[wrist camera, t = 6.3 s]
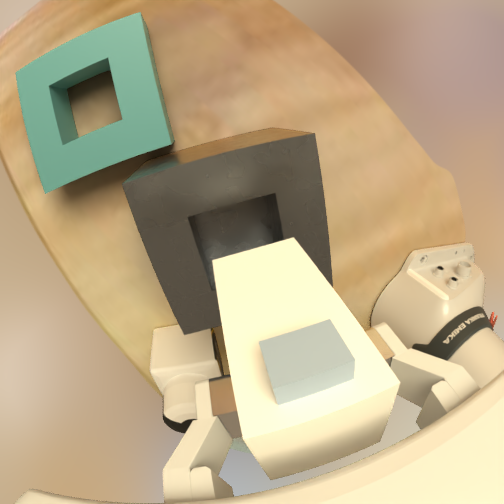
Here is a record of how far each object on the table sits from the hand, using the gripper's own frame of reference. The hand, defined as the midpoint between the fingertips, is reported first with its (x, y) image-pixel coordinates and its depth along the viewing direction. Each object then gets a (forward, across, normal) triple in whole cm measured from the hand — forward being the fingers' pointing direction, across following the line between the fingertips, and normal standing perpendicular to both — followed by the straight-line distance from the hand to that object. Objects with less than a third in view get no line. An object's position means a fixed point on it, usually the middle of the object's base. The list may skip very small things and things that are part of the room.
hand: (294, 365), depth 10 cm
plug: (+6, 0, 0) cm, 6 cm away
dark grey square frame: (+20, 0, 0) cm, 20 cm away
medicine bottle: (+21, +9, +16) cm, 28 cm away
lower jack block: (+20, +9, -13) cm, 26 cm away
